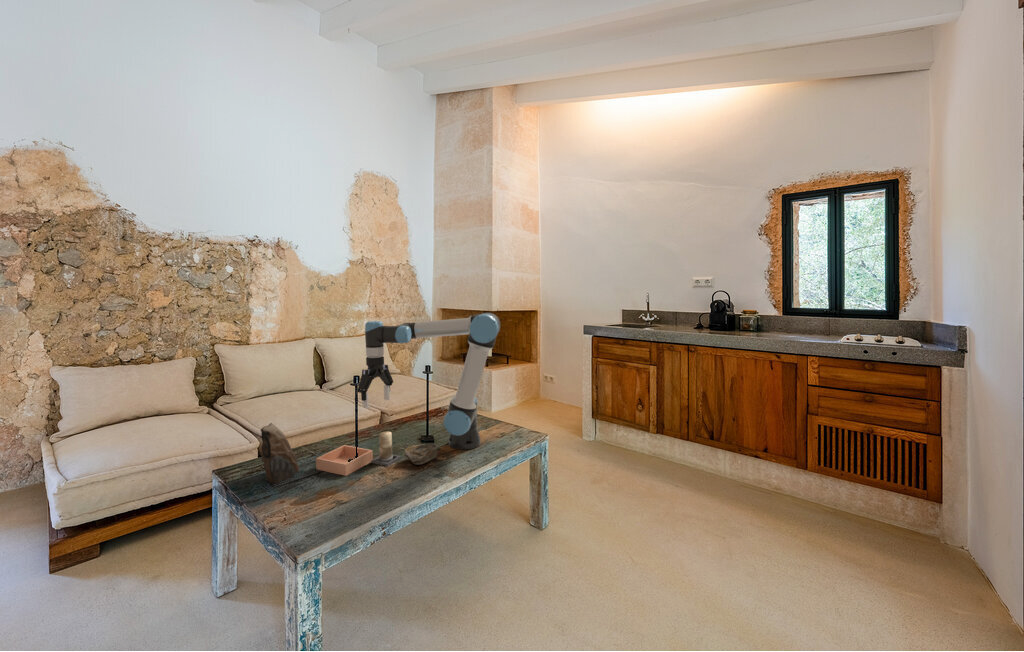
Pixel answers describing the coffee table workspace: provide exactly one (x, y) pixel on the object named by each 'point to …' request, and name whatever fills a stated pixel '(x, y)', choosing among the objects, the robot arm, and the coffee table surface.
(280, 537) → the coffee table surface
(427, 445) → the stone
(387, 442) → the beige rounded cylinder
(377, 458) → the gray square frame
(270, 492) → the coffee table surface
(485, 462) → the coffee table surface
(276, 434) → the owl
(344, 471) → the tray
